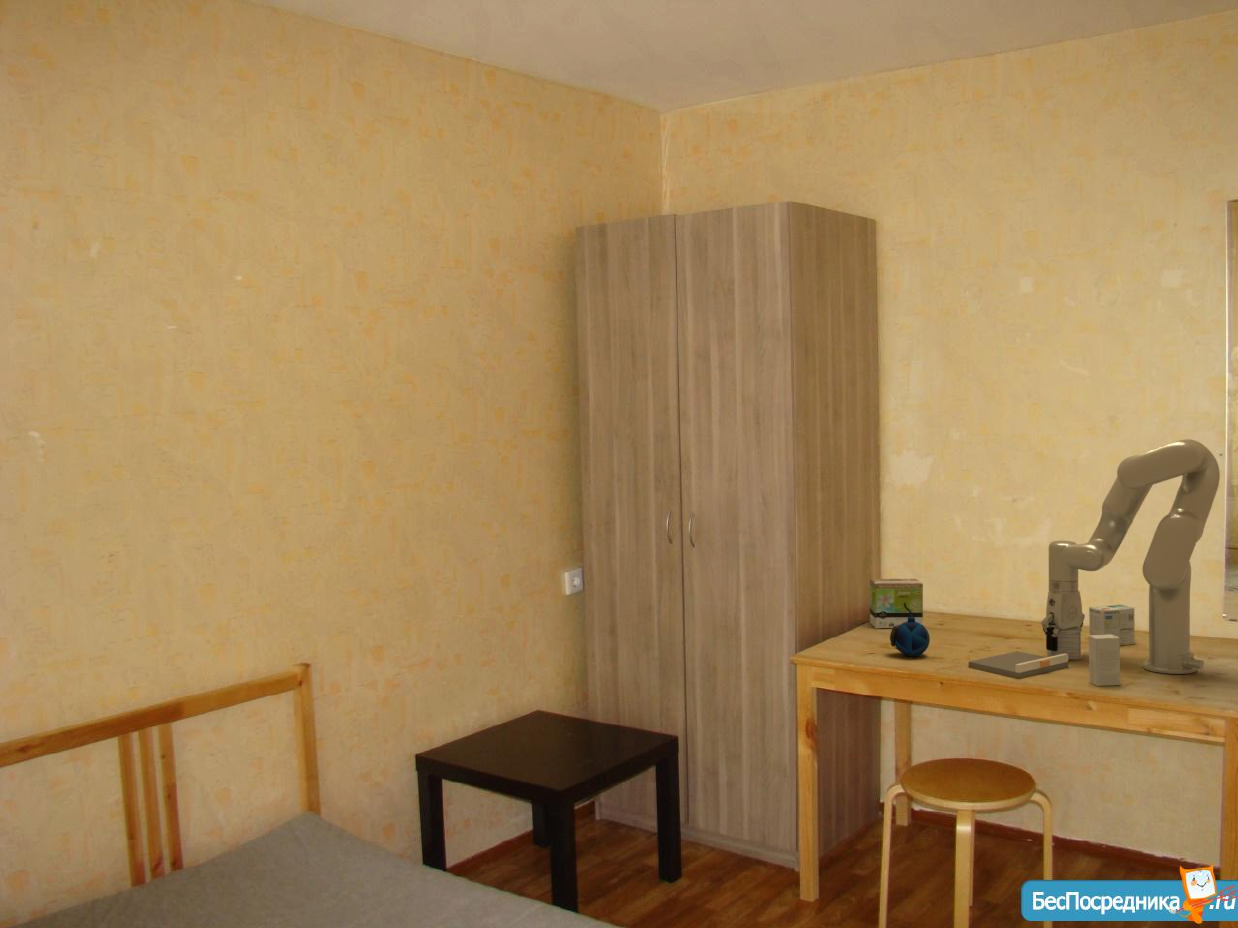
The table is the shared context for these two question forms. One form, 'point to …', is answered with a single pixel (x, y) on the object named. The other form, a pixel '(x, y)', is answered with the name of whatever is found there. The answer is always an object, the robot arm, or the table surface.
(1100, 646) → the skincare box
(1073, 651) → the medicine box
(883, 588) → the tea box
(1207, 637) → the table surface
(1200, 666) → the robot arm
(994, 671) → the shelf board
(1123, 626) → the light bulb box
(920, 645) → the bomb
